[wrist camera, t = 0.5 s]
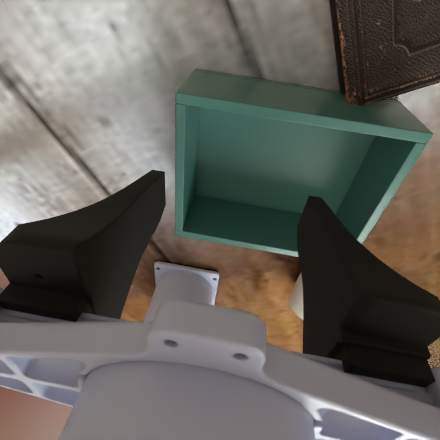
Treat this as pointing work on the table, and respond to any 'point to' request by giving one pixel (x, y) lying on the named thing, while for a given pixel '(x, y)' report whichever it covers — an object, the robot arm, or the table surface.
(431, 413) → the robot arm
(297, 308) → the paper roll
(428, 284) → the table surface
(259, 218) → the open storage box
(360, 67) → the hardcover book
